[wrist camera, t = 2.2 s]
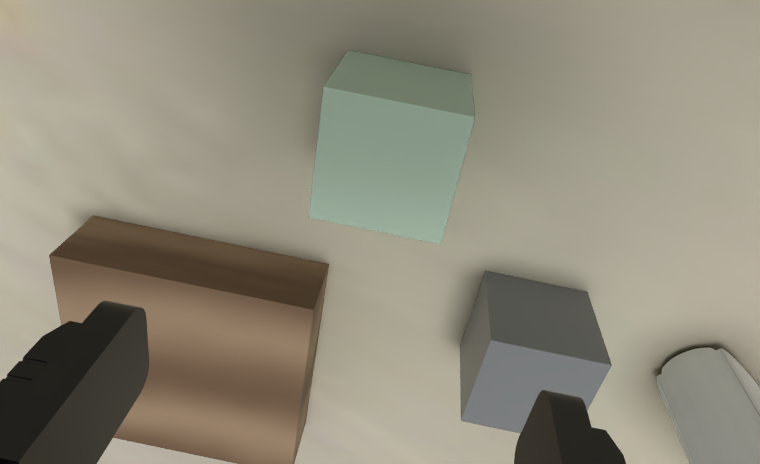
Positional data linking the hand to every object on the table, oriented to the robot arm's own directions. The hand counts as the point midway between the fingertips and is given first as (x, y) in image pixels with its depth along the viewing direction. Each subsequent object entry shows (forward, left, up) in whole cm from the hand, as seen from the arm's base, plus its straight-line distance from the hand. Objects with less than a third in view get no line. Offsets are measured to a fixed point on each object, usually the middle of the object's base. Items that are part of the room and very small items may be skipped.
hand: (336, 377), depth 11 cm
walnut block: (+14, -8, -15) cm, 22 cm away
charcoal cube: (+9, +8, -15) cm, 19 cm away
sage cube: (0, 0, -15) cm, 15 cm away
